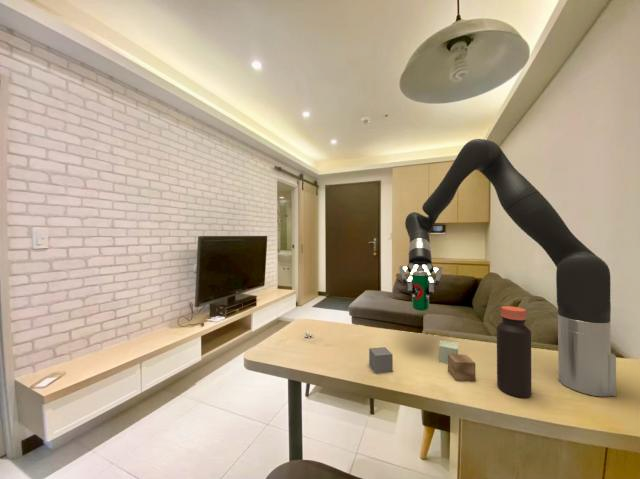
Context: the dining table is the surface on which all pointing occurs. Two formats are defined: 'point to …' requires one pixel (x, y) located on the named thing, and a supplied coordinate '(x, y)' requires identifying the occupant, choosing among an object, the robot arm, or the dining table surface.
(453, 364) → the walnut block
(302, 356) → the dining table surface
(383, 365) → the charcoal block
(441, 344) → the sage block
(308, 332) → the power adapter
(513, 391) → the bottle
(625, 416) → the dining table surface
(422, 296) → the soda can
